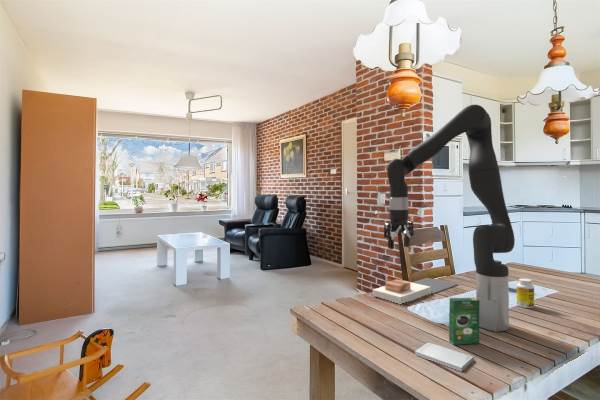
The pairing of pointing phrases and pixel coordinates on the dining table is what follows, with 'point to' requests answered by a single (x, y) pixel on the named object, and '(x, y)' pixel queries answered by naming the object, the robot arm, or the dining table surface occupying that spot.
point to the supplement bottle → (525, 293)
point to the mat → (435, 284)
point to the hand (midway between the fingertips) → (399, 247)
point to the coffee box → (464, 321)
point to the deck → (403, 293)
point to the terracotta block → (397, 286)
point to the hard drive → (444, 356)
